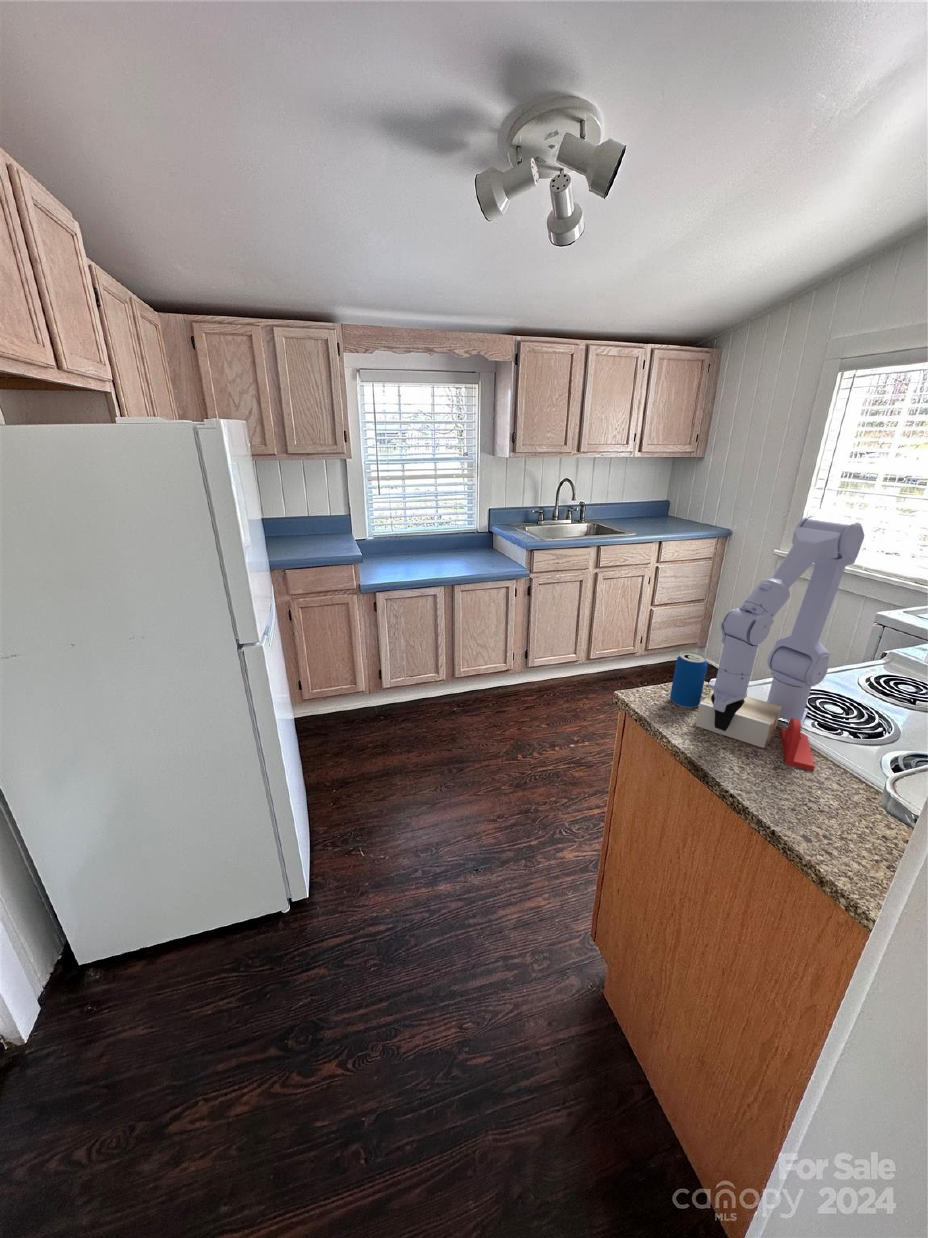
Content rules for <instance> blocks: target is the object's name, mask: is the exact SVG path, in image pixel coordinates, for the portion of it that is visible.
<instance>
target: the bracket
mask: <svg viewBox="0 0 928 1238" xmlns="http://www.w3.org/2000/svg"><path fill="white" fill-rule="evenodd" d="M787 724H788V725H787V728H786V729H785V728H781V729H780V738H781V745H782V751H783V758H784V763H785V765H789V766H793V767H796V768H800V769H803V770H808V771H813V772H814V771H815V767H816V766H815V761H814V757H813V754H812V753H813V752H812V751H811V749H812V748H811V746H810V742H809V738H808V736H807V734H805V733H802V732H801V730H802V726H801V722H800V720H798V719H794V718H792V719H791V720H790V722H789V723H787Z"/></svg>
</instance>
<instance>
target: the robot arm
mask: <svg viewBox="0 0 928 1238" xmlns="http://www.w3.org/2000/svg"><path fill="white" fill-rule="evenodd" d="M864 539H865V533H864V529H863V527H862V525H861V523H859V522H858V521H857V522H856V521H855V522H853V521H852V522H851V521H843V520H837V519H830V518H829V519H828V518H821V517H815V516H813V515H807V516H805V517H803V518H802V519H801V520H800V521H799V522H798V523H797V525H796V527H795V529H794V530H793V534H792V541H791V543H792V546H791V548H790V549H789V551H788V552H787V553H786V556H785V557H784V558H783V560H782V562H781V563H780V565H779V566H778V567H777V569H776V571H775V572H774V573H773V575H772V576H771V578H765V579H761V580H760V582H758V584H757V585H756V587H754V589H753V590H752V592H750V594H749V595H748V596H747V598H746V599H745V600H744V601H743V602H742V604H741V605H740V607H738V608H735V609H731V610H729V611H728V612H727V613H726V614H725V615H724V617H723V620H722V622H721V623H720V630H721V633H722V637H721V642H722V644H723V646H722V652H721V656H720V660H719V665H718V670H717V674H716V678H715V681H713V680H711V681H709V682H708V684H707V688H709V689H712V690H713V692H714V693H713V695H712V696H711V701H712V703H713V709H714V710H715V728H718V729H720V730H723V731H726V730H727V728H728V727H729V725H730V723H731V721H732V718H733V716H734V715H735V713H736V712H737V711H738V710H739V709H740V708H741V707H742V705H743V704H744V702H745V700H744V698H746V697H747V696H748V687H749V683H750V681H751V680H750V679H751V676H752V673H753V671H752V670H753V667H754V664H755V659H756V656H757V651H758V648H759V645H760V644H762V643H763V642H764V641H765V640H766V639H767V637H768V636H769V634H770V630H771V628H772V625H773V624H774V618H775V616H776V615H777V614H778V613H779V611H780V610H781V608H782V607H783V606H784V605H785V604H786V602H787V601H788V600H789V599H790V597H791V592H790V588H791V586H793V584H795V582H797V580H798V579H800V577H801V576H802V575H803V574H804V573H805V572H806V571H807V570H808V569H809V568H810V567H811V566H812V565H813V564H814V567H813V570H812V574H811V576H810V579H809V582H808V584H807V587H806V590H805V593H804V596H803V599H802V602H801V604H800V608H799V610H798V611H799V612H798V613H797V617H796V619H795V622H794V625H793V627H792V631H791V633H790V635H786V636H783V637H781V638H779V639H778V638H777V640H776V642H775V644H774V647H773V648H772V650H771V651H770V652H769V654H768V657H767V666H768V667H767V668H768V669H769V670H771V671H770V675H772V676H773V677H772V681H771V684H770V689H769V692H768V696H767V700H766V702H768V703H771V704H774V705H778V706H781V707H782V708H781V711H780V715H779V718H783V719H787V720H791V719H792V718H794V719H798V720H800V722H801V727H802V726H803V723H804V722H805V719H806V716H807V715H808V712H809V709H808V708H807V704H808V699H809V696H810V693H811V690H812V687H815V686H817V685H819V684H820V683H822V681H823V680H824V679H825V677H826V675H827V674H828V673H827V672H828V669H829V666H828V663H829V660H830V657H831V656H830V655H831V653H830V652H829V651H828V649H827V648H826V647H825V646H824V645H823V644H822V642H821V641H820V638H821V636H822V632H823V630H824V627H825V626H826V625H825V624H826V621H827V619H828V616H829V614H830V611H831V608H832V606H833V601H835V597H836V594H837V591H838V588H839V586H840V583H841V580H842V578H843V576H844V575H843V574H844V572H845V569H846V567H847V566H850V565H854V564H855V563H856V559H857V558H858V555H859V552H860V550H861V547H862V544H863V542H864ZM803 721H804V722H803Z"/></svg>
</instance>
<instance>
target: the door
mask: <svg viewBox="0 0 928 1238" xmlns="http://www.w3.org/2000/svg"><path fill="white" fill-rule="evenodd" d="M770 725H771V722H768V721H764V720H761V719H758V718H754V717H751V716H748V715H744V714H741V713H738V712H736V713H735V715H734V716H733V718H732V721H731V723H730V725H729V727H728V728H727V730H726V731H723V730H720V729H718V728H715V710H714V709H713V705H711V704H707V703H704V702H703V701H700V704H699V706H698V713H697V717H696V723H695V727H698V728H701V729H703V730H704V729H705V730H708V731H711V732H712V733H717V734H719V735H723V736H726V737H728V738H732V739H735V740H738V741H740V742H744V743H746V744H747V743H748V744H750V745H753V746H757V747H759V748H763V749H765V748H766V747H765V744H766V740H767V736H768V732H769V729H770Z"/></svg>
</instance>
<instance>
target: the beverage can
mask: <svg viewBox="0 0 928 1238" xmlns="http://www.w3.org/2000/svg"><path fill="white" fill-rule="evenodd" d="M707 668H708V662H707V657H706V656H705V655H703V654H701V653H697V652H694V651H683V652H680V653H679V656H678V657H677V658H676V661H675V667H674V673H673V677H672V678H673V679H672V684H671V689H670V690H671V691H670V695H669V696H670V697H669V698H670V701H671V702H672V703H673V704H674V705H676V706H677V707H679V708H682V709H694V708H696V707H699V706H700V703H701V699H702V694H703V689H704V684H705V679H706V675H707V670H708V669H707Z"/></svg>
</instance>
